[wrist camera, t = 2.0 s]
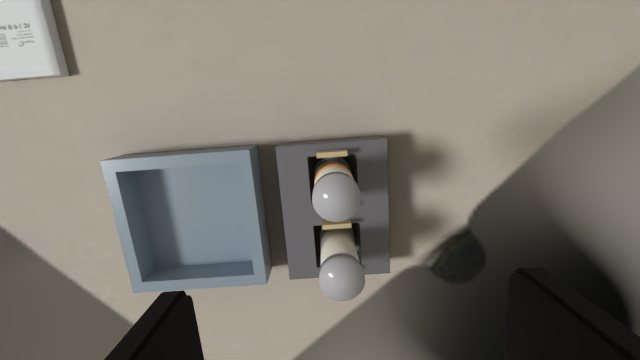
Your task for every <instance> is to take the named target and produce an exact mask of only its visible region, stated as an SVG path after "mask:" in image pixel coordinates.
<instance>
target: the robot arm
mask: <svg viewBox="0 0 640 360" xmlns="http://www.w3.org/2000/svg"><path fill="white" fill-rule="evenodd" d="M504 354H505V358H506V360H640V337H639V336H637V335H636V334H635V333H633V332H632V331H631V330H629V329H628V328H626V327H625V326H624V325H622V324H621V323H619V322H618V321H616V320H615V319H614V318H612V317H611V316H610V315H608V314H607V313H605V312H604V311H602V310H601V309H600V308H598V307H597V306H596V305H594V304H593V303H591V302H590V301H588V300H587V299H586V298H584V297H583V296H582V295H580V294H579V293H577V292H576V291H575V290H573V289H572V288H570V287H569V286H567V285H566V284H564V283H563V282H562V281H560V280H559V279H558V278H556V277H555V276H553V275H552V274H551V273H549V272H548V271H547V270H545V269H544V268H542V267H538V266H537V267H522V268H518V269H516V271H515V273H513V274H511V276H510V280H509V293H508V307H507V320H506V332H505V346H504ZM105 360H204V357H203V352H202V347H201V342H200V336H199V331H198V326H197V321H196V316H195V311H194V306H193V301H192V298H191V296H187V295H186V293H185V292H184V291H172V292H163V293H161V294H160V295H159V296H158V298H157V299H156V300H155V301H154V302H153V303H152V305H151V306H150V307H149V308H148V309H147V310H146V312H145V313H144V314H143V315H142V316H141V317H140V319H139V320H138V321H137V322H136V323H135V324H134V326H133V327H132V328H131V329H130V330H129V332H128V333H127V334H126V335H125V336H124V337H123V339H122V340H121V341H120V342H119V344H117V346H116V347H115V348H114V349H113V350H112V351H111V353H110V354H109V355H108V356H107V357H106V358H105Z"/></svg>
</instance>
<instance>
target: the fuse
mask: <svg viewBox="0 0 640 360" xmlns="http://www.w3.org/2000/svg"><path fill="white" fill-rule="evenodd" d="M320 243H321V267H320V270H319V284H320V288H321V290H322V291H323V293H324V294H325V295H326V296H327V297H329V298H331V299H333V300H337V301H347V300H350V299H353V298H355V297H356V296H357V295H359V294H360V292H361V291H362V290H363V288H364V285H365V276H364V272H363V268H362V265H361V264H360V262H359V258H358V254H357V250H356V246H355V242H354V233H353V229H352V227H351V228H342V229H328V230H322V226H321V229H320Z"/></svg>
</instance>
